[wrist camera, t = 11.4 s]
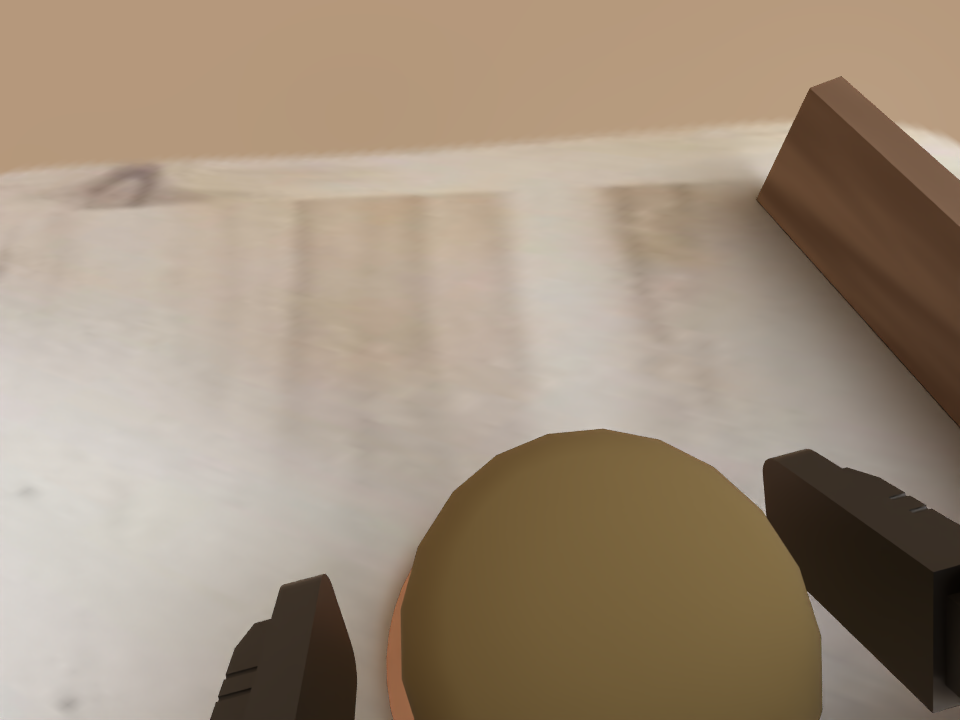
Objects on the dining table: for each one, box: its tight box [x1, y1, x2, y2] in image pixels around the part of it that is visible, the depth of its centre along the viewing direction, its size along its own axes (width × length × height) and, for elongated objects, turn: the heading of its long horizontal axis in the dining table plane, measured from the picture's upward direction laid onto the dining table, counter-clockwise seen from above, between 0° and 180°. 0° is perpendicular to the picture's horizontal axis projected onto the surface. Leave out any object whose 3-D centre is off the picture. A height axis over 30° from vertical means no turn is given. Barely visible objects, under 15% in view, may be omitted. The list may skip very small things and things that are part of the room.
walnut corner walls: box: [756, 76, 960, 427], centre depth 16 cm, size 22×18×5 cm
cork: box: [400, 429, 822, 720], centre depth 11 cm, size 6×6×11 cm
